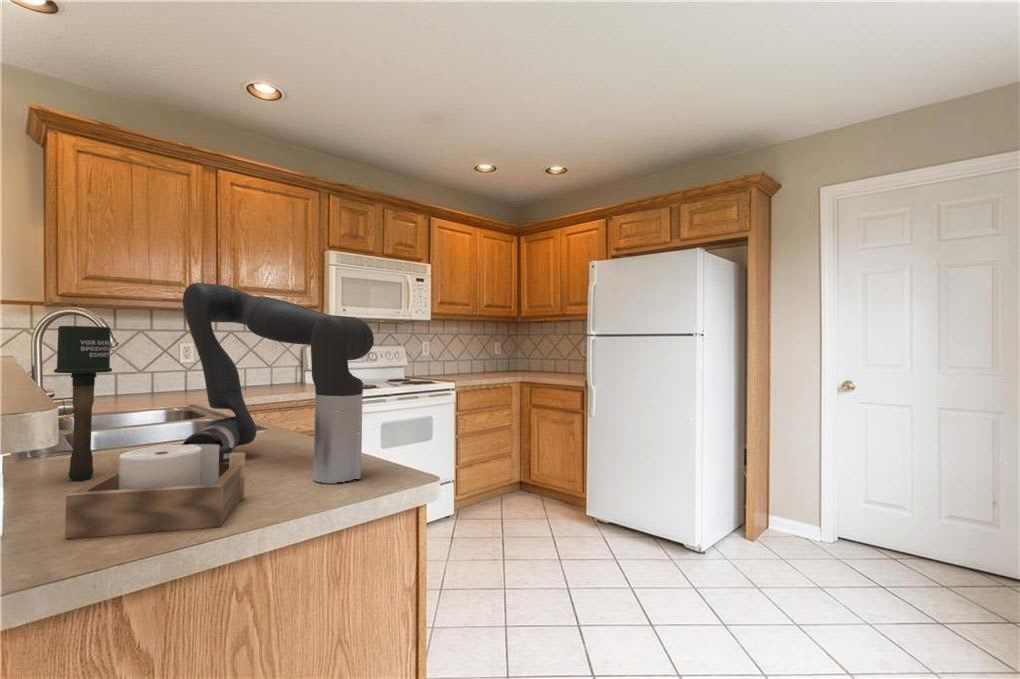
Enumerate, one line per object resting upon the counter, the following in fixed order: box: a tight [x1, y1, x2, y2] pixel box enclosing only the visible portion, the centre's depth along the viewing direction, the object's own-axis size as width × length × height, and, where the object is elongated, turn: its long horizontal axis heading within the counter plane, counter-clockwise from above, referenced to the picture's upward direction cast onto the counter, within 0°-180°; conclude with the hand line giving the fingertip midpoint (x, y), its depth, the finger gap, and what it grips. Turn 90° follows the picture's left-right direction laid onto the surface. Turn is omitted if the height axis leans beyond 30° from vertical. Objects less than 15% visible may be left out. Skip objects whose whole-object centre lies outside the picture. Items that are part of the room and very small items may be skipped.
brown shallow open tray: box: [64, 451, 246, 540], centre depth 77 cm, size 20×14×8 cm
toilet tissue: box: [119, 444, 220, 490], centre depth 78 cm, size 11×12×10 cm
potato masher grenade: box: [53, 325, 113, 482], centre depth 96 cm, size 8×9×30 cm
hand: (178, 467), depth 83 cm, fingers closed
